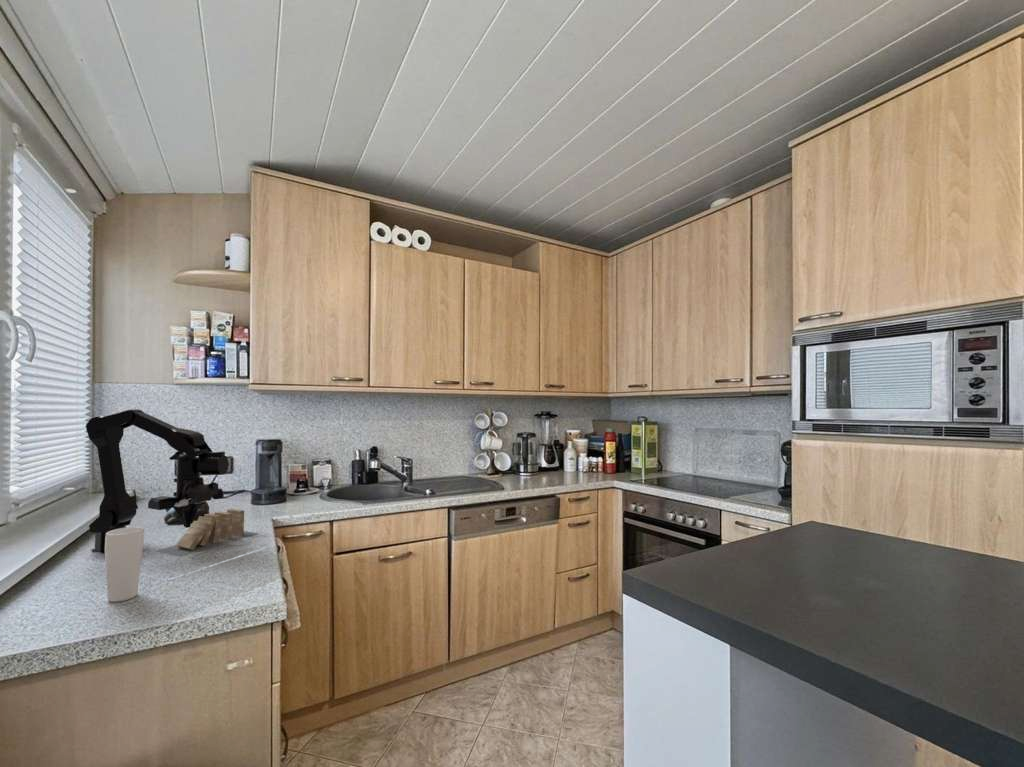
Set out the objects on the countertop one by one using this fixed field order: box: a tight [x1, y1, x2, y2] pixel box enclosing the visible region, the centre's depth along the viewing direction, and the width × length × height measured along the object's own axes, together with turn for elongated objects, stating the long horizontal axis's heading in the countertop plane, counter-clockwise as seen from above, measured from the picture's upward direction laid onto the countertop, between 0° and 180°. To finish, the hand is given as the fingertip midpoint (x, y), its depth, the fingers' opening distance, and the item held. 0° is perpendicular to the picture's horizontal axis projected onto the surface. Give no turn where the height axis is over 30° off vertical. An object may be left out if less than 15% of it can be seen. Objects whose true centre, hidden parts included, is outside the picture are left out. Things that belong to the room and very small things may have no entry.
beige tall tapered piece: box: [104, 526, 145, 603], centre depth 106 cm, size 7×7×15 cm
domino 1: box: [175, 520, 211, 550], centre depth 141 cm, size 2×6×8 cm
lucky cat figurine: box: [163, 493, 210, 525], centre depth 174 cm, size 15×12×14 cm
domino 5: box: [226, 508, 245, 536], centre depth 154 cm, size 2×6×8 cm, turn 66°
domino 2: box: [196, 516, 216, 546], centre depth 144 cm, size 2×6×8 cm, turn 66°
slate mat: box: [154, 530, 260, 558], centre depth 146 cm, size 25×12×1 cm, turn 156°
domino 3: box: [204, 513, 222, 543], centre depth 146 cm, size 2×6×8 cm, turn 66°
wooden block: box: [214, 510, 232, 540], centre depth 150 cm, size 2×6×8 cm, turn 66°
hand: (187, 527), depth 140 cm, fingers closed
